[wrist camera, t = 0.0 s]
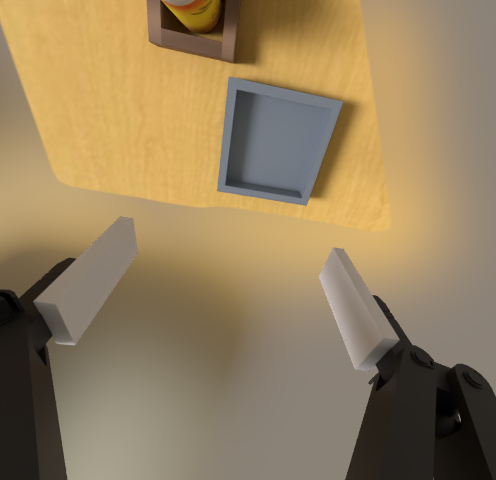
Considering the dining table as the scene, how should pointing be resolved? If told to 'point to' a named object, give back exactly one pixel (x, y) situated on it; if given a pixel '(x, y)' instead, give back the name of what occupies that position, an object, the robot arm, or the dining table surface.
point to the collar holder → (194, 44)
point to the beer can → (196, 13)
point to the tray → (274, 141)
